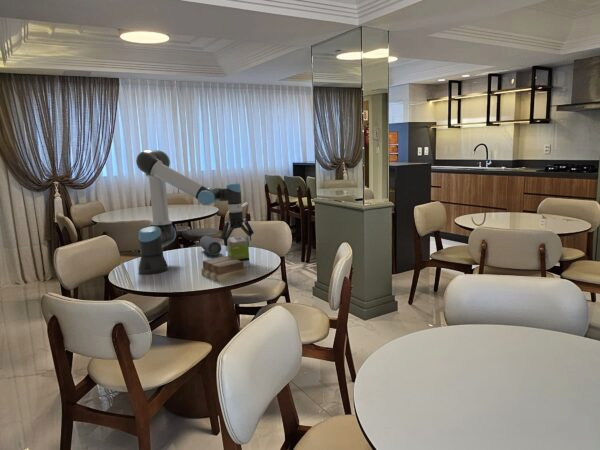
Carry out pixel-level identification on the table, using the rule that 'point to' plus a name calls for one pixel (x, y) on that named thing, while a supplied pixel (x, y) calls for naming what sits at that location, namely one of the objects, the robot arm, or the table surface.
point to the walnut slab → (223, 265)
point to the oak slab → (223, 275)
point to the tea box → (239, 249)
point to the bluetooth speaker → (210, 245)
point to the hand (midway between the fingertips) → (238, 249)
